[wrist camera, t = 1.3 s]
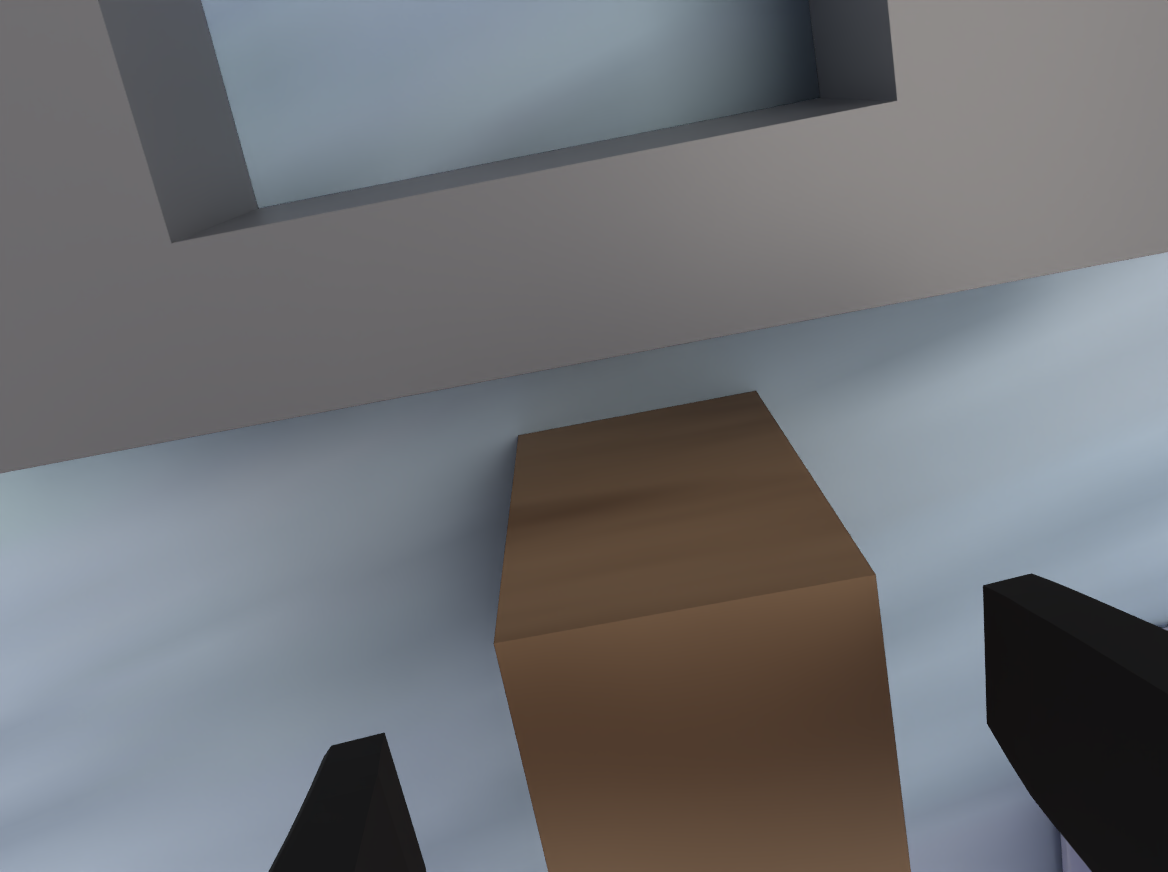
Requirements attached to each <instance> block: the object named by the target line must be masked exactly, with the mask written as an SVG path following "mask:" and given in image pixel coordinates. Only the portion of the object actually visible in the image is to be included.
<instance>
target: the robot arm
mask: <svg viewBox="0 0 1168 872" xmlns="http://www.w3.org/2000/svg"><path fill="white" fill-rule="evenodd" d="M983 601H984V637H985V674H986V711H987V724H988V726H989V728H990V729H991V731H992V733H993V735H994V736H995V738H996V740H997V741H998V743H999V745H1000V746H1001V748H1002V750H1003V752H1004V753H1005V755H1006V757H1007V758H1008V760H1009V762H1010V763H1011V765H1012V767H1013V768H1014V770H1015V771H1016V773H1017V774H1018V776H1019V778H1020V779H1021V781H1022V782H1023V784H1024V785H1025V787H1026V789H1027V790H1028V792H1029V793H1030V795H1031V796H1032V798H1033V799H1034V800H1035V801H1036V803H1037V804H1038V805H1039V807H1040V808H1041V809H1042V810H1043V812H1044V813H1045V814H1046V815H1047V817H1048V818H1049V819H1050V821H1051V822H1052V823H1053V824H1054V826H1055V827H1056V828H1057V829H1058V831H1059V832H1060V833H1061V848H1062V863H1063V872H1168V627H1166V628H1160V627H1158V626H1156V625H1153V624H1151V623H1149V622H1146V621H1144V620H1142V619H1139V618H1137V617H1135V616H1133V615H1130V614H1128V613H1126V612H1123V611H1121V610H1119V609H1116V608H1114V607H1112V606H1110V605H1107V604H1105V603H1103V602H1100V601H1098V600H1096V599H1093V598H1091V597H1089V596H1086V595H1084V594H1082V593H1079V592H1077V591H1075V590H1072V589H1070V588H1068V587H1065V586H1063V585H1060V584H1058V583H1055V582H1053V581H1050V580H1048V579H1045V578H1042V577H1040V576H1037V575H1034V574H1027V575H1023V576H1019V577H1015V578H1011V579H1007V580H1003V581H999V582H995V583H991V584H987V585H983ZM269 872H426V867H425V864H424V861H423V857H422V854H421V851H420V848H419V844H418V841H417V838H416V834H415V831H414V828H413V825H412V821H411V818H410V815H409V811H408V808H407V805H406V802H405V798H404V795H403V792H402V788H401V785H400V782H399V779H398V775H397V772H396V769H395V765H394V762H393V759H392V756H391V752H390V749H389V746H388V742H387V739H386V736H385V733H381V734H377V735H373V736H369V737H365V738H361V739H357V740H353V741H349V742H344V743H340V744H336V745H332V746H331V747H330V749H329V750H328V751H327V753H326V754H325V756H324V758H323V760H322V762H321V764H320V767H319V769H318V771H317V774H316V776H315V778H314V780H313V782H312V785H311V787H310V789H309V791H308V793H307V796H306V798H305V800H304V802H303V804H302V806H301V809H300V811H299V813H298V815H297V817H296V819H295V821H294V823H293V825H292V827H291V829H290V831H289V833H288V835H287V837H286V839H285V841H284V843H283V845H282V847H281V849H280V851H279V853H278V855H277V857H276V859H275V860H274V862H273V864H272V866H271V868H270V870H269Z"/></svg>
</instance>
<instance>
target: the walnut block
mask: <svg viewBox="0 0 1168 872" xmlns="http://www.w3.org/2000/svg"><path fill="white" fill-rule="evenodd" d="M494 647H495V651H496V655H497V659H498V664H499V668H500V672H501V676H502V680H503V684H504V689H505V693H506V697H507V701H508V705H509V710H510V714H511V718H512V722H513V726H514V730H515V735H516V739H517V743H518V747H519V751H520V755H521V760H522V764H523V768H524V772H525V776H526V780H527V785H528V789H529V793H530V797H531V801H532V806H533V810H534V814H535V818H536V822H537V826H538V831H539V835H540V839H541V843H542V847H543V851H544V856H545V860H546V864H547V868H548V872H911V869H910V861H909V852H908V844H907V835H906V827H905V818H904V810H903V802H902V793H901V785H900V776H899V768H898V759H897V751H896V742H895V734H894V726H893V717H892V709H891V700H890V692H889V683H888V675H887V667H886V658H885V650H884V641H883V633H882V624H881V616H880V607H879V599H878V591H877V582H876V574H875V573H874V571H873V570H872V568H871V567H870V565H869V564H868V562H867V561H866V559H865V558H864V556H863V554H862V553H861V551H860V550H859V548H858V547H857V545H856V544H855V542H854V541H853V539H852V538H851V536H850V534H849V533H848V531H847V530H846V528H845V527H844V525H843V524H842V522H841V521H840V519H839V518H838V516H837V515H836V513H835V511H834V510H833V508H832V507H831V505H830V504H829V502H828V501H827V499H826V498H825V496H824V495H823V493H822V491H821V490H820V488H819V487H818V485H817V484H816V482H815V481H814V479H813V478H812V476H811V475H810V473H809V471H808V470H807V468H806V467H805V465H804V464H803V462H802V461H801V459H800V458H799V456H798V455H797V453H796V451H795V450H794V448H793V447H792V445H791V444H790V442H789V441H788V439H787V438H786V436H785V435H784V433H783V431H782V430H781V428H780V427H779V425H778V424H777V422H776V421H775V419H774V418H773V416H772V415H771V413H770V412H769V410H768V408H767V407H766V405H765V404H764V402H763V401H762V399H761V398H760V396H759V395H758V393H757V392H756V391H752V392H747V393H741V394H736V395H731V396H725V397H720V398H715V399H709V400H704V401H699V402H693V403H688V404H683V405H677V406H672V407H667V408H661V409H656V410H651V411H645V412H640V413H635V414H629V415H624V416H619V417H613V418H608V419H603V420H597V421H592V422H587V423H581V424H576V425H571V426H565V427H560V428H555V429H549V430H544V431H539V432H533V433H528V434H523V435H518V444H517V452H516V460H515V469H514V477H513V486H512V494H511V502H510V511H509V519H508V528H507V536H506V544H505V553H504V561H503V570H502V578H501V586H500V595H499V603H498V612H497V620H496V628H495V637H494Z"/></svg>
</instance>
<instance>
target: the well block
mask: <svg viewBox="0 0 1168 872" xmlns="http://www.w3.org/2000/svg"><path fill="white" fill-rule="evenodd" d="M809 8H810V16H811V25H812V33H813V42H814V50H815V59H816V67H817V75H818V84H819V92H820V98H817V99H812V100H807V101H802V102H797V103H792V104H786V105H781V106H776V107H771V108H766V109H761V110H756V111H751V112H746V113H741V114H736V115H731V116H726V117H720V118H715V119H710V120H705V121H700V122H695V123H690V124H685V125H680V126H675V127H670V128H665V129H659V130H654V131H649V132H644V133H639V134H634V135H629V136H624V137H619V138H614V139H609V140H604V141H598V142H593V143H588V144H583V145H578V146H573V147H568V148H563V149H558V150H553V151H548V152H543V153H538V154H532V155H527V156H522V157H517V158H512V159H507V160H502V161H497V162H492V163H487V164H482V165H477V166H471V167H466V168H461V169H456V170H451V171H446V172H441V173H436V174H431V175H426V176H421V177H416V178H411V179H405V180H400V181H395V182H390V183H385V184H380V185H375V186H370V187H365V188H360V189H355V190H350V191H344V192H339V193H334V194H329V195H324V196H319V197H314V198H309V199H304V200H299V201H294V202H289V203H284V204H278V205H273V206H268V207H263V208H258V206H257V202H256V199H255V195H254V191H253V188H252V184H251V181H250V177H249V173H248V170H247V166H246V162H245V159H244V155H243V152H242V148H241V144H240V141H239V137H238V133H237V130H236V126H235V123H234V119H233V115H232V112H231V108H230V104H229V101H228V97H227V94H226V90H225V86H224V83H223V79H222V75H221V72H220V68H219V65H218V61H217V57H216V54H215V50H214V46H213V43H212V39H211V36H210V32H209V28H208V25H207V21H206V17H205V14H204V10H203V7H202V3H201V0H0V473H4V472H10V471H15V470H20V469H25V468H31V467H36V466H41V465H46V464H52V463H57V462H62V461H68V460H73V459H78V458H83V457H89V456H94V455H99V454H105V453H110V452H115V451H120V450H126V449H131V448H136V447H141V446H147V445H152V444H157V443H163V442H168V441H173V440H178V439H184V438H189V437H194V436H199V435H205V434H210V433H215V432H221V431H226V430H231V429H236V428H242V427H247V426H252V425H257V424H263V423H268V422H273V421H279V420H284V419H289V418H294V417H300V416H305V415H310V414H315V413H321V412H326V411H331V410H337V409H342V408H347V407H352V406H358V405H363V404H368V403H374V402H379V401H384V400H389V399H395V398H400V397H405V396H410V395H416V394H421V393H426V392H432V391H437V390H442V389H447V388H453V387H458V386H463V385H468V384H474V383H479V382H484V381H490V380H495V379H500V378H505V377H511V376H516V375H521V374H526V373H532V372H537V371H542V370H548V369H553V368H558V367H563V366H569V365H574V364H579V363H584V362H590V361H595V360H600V359H606V358H611V357H616V356H621V355H627V354H632V353H637V352H643V351H648V350H653V349H658V348H664V347H669V346H674V345H679V344H685V343H690V342H695V341H701V340H706V339H711V338H716V337H722V336H727V335H732V334H737V333H743V332H748V331H753V330H759V329H764V328H769V327H774V326H780V325H785V324H790V323H795V322H801V321H806V320H811V319H817V318H822V317H827V316H832V315H838V314H843V313H848V312H853V311H859V310H864V309H869V308H875V307H880V306H885V305H890V304H896V303H901V302H906V301H912V300H917V299H922V298H927V297H933V296H938V295H943V294H948V293H954V292H959V291H964V290H970V289H975V288H980V287H985V286H991V285H996V284H1001V283H1006V282H1012V281H1017V280H1022V279H1028V278H1033V277H1038V276H1043V275H1049V274H1054V273H1059V272H1064V271H1070V270H1075V269H1080V268H1086V267H1091V266H1096V265H1101V264H1107V263H1112V262H1117V261H1122V260H1128V259H1133V258H1138V257H1144V256H1149V255H1154V254H1159V253H1165V252H1168V0H809Z"/></svg>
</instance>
